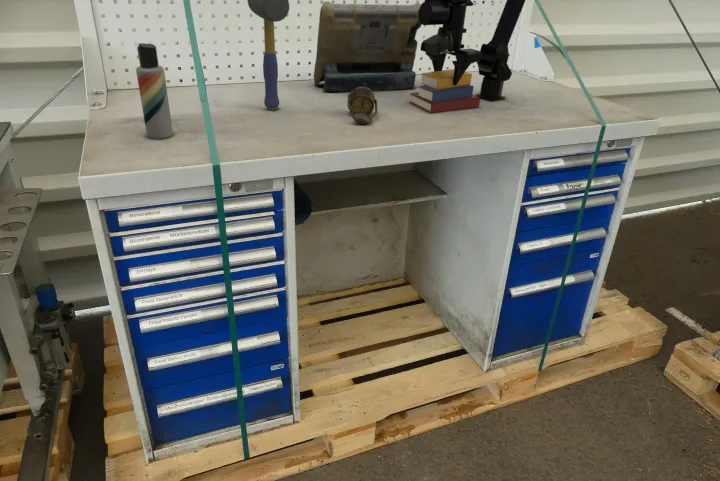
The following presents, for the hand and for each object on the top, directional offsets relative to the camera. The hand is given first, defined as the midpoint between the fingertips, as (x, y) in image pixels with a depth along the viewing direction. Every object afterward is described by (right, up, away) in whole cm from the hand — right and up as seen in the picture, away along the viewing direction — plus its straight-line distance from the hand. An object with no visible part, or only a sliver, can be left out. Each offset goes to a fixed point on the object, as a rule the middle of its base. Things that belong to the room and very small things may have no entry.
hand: (445, 82), depth 150 cm
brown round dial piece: (-25, -13, -11) cm, 30 cm away
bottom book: (0, -6, +3) cm, 6 cm away
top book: (0, -1, 0) cm, 1 cm away
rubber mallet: (-48, -10, -9) cm, 50 cm away
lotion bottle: (-71, -21, -29) cm, 79 cm away
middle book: (0, -4, 0) cm, 4 cm away
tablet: (-23, +3, +17) cm, 28 cm away
